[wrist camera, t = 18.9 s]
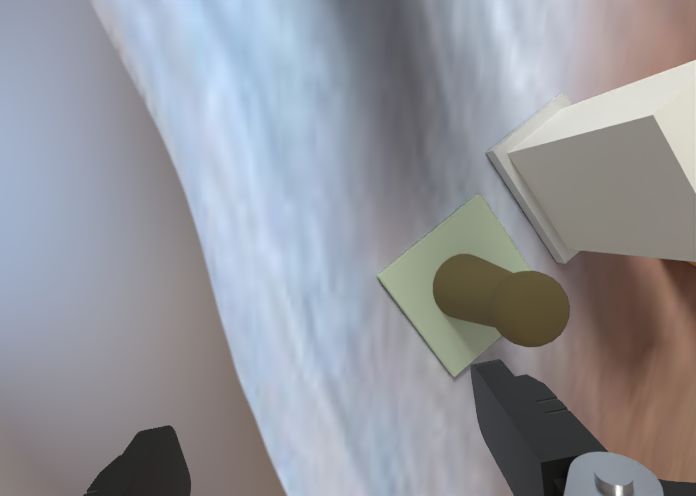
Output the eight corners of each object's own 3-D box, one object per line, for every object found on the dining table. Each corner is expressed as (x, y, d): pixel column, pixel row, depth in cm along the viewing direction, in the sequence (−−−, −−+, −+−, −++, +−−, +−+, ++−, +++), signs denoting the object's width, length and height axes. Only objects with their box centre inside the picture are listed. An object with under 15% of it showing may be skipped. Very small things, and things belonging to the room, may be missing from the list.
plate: (376, 275, 36) (378, 277, 35) (476, 194, 38) (480, 193, 37) (450, 374, 38) (454, 377, 38) (542, 293, 40) (547, 295, 39)
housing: (485, 152, 38) (632, 110, 23) (555, 96, 39) (739, 21, 24) (556, 262, 40) (730, 288, 25) (620, 206, 41) (823, 200, 26)
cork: (504, 271, 38) (600, 292, 27) (475, 329, 38) (561, 373, 27) (450, 242, 37) (530, 251, 26) (421, 302, 36) (488, 337, 26)
